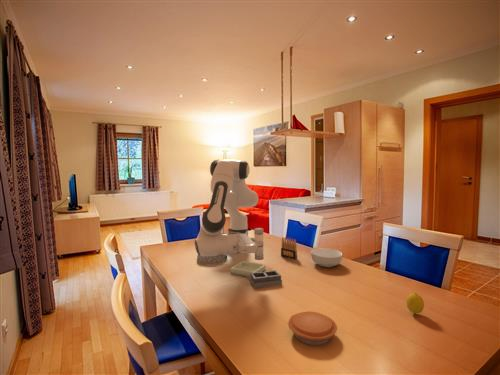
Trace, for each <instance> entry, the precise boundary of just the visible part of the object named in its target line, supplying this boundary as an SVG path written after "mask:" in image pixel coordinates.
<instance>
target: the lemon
mask: <svg viewBox="0 0 500 375" xmlns="http://www.w3.org/2000/svg"><path fill="white" fill-rule="evenodd" d="M405 303H406V307H407V309H408V311H410V312H411V313H413V314H414V315H417V314H420V313H422V312H423V311H424V307H425V303H424V298H423V297H422V296H421V295H420V294H418V292H417V293H416V292H413V293H410V294H409V295H408V296H407V298H406V301H405Z"/></svg>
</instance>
